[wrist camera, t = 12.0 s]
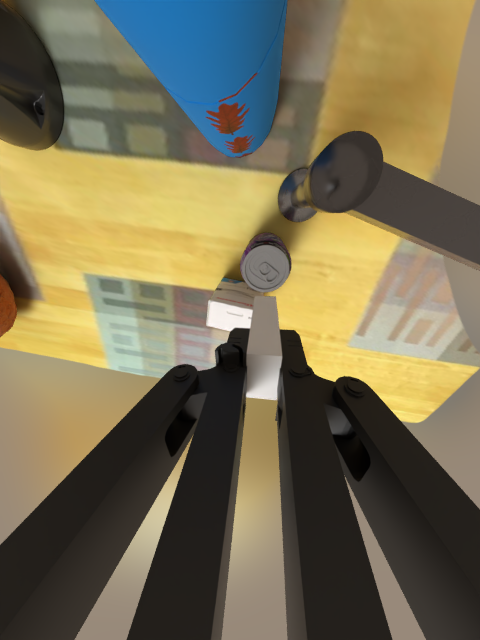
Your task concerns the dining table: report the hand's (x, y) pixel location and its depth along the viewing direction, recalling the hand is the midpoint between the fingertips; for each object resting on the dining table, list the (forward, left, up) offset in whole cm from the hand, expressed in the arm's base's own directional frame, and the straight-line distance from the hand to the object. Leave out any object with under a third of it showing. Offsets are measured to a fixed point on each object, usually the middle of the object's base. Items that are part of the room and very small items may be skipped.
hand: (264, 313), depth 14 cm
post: (-8, +6, -24) cm, 26 cm away
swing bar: (-2, +16, -8) cm, 18 cm away
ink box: (+7, -6, -25) cm, 26 cm away
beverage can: (0, 0, -25) cm, 25 cm away
